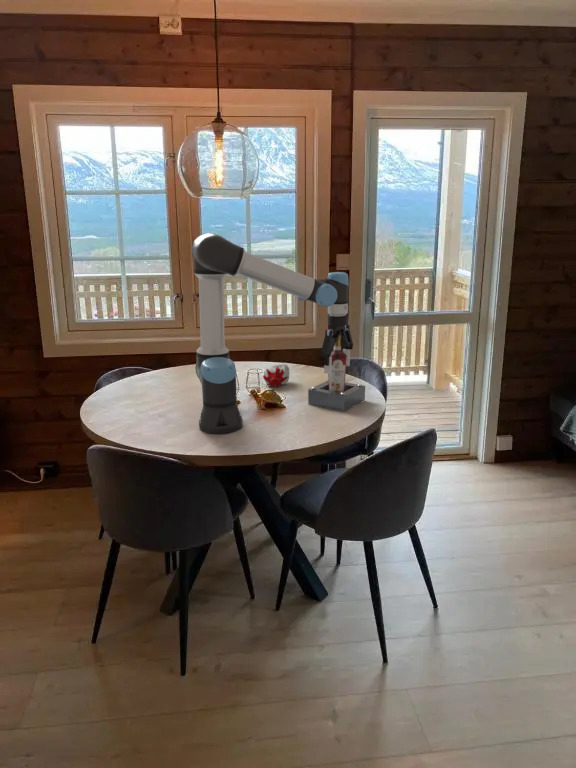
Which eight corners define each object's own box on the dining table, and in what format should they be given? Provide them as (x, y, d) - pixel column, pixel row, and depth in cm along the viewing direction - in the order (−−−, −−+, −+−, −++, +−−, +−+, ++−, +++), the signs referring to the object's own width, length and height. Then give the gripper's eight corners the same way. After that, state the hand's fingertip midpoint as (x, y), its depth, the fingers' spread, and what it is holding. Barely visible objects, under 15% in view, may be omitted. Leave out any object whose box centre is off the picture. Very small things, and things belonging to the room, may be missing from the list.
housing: (344, 411, 218) (344, 394, 216) (308, 404, 227) (308, 387, 225) (364, 400, 230) (365, 384, 228) (329, 393, 239) (330, 378, 237)
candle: (289, 379, 258) (289, 393, 244) (264, 379, 258) (262, 393, 244) (289, 360, 254) (288, 373, 241) (263, 360, 255) (261, 373, 241)
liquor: (327, 405, 225) (328, 333, 217) (326, 399, 232) (326, 329, 224) (347, 405, 225) (348, 333, 217) (344, 399, 232) (346, 329, 224)
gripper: (328, 320, 207) (328, 378, 213) (362, 310, 226) (361, 363, 232) (311, 318, 211) (311, 375, 217) (345, 308, 230) (345, 361, 236)
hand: (337, 369), depth 225 cm, fingers open, 13 cm apart
